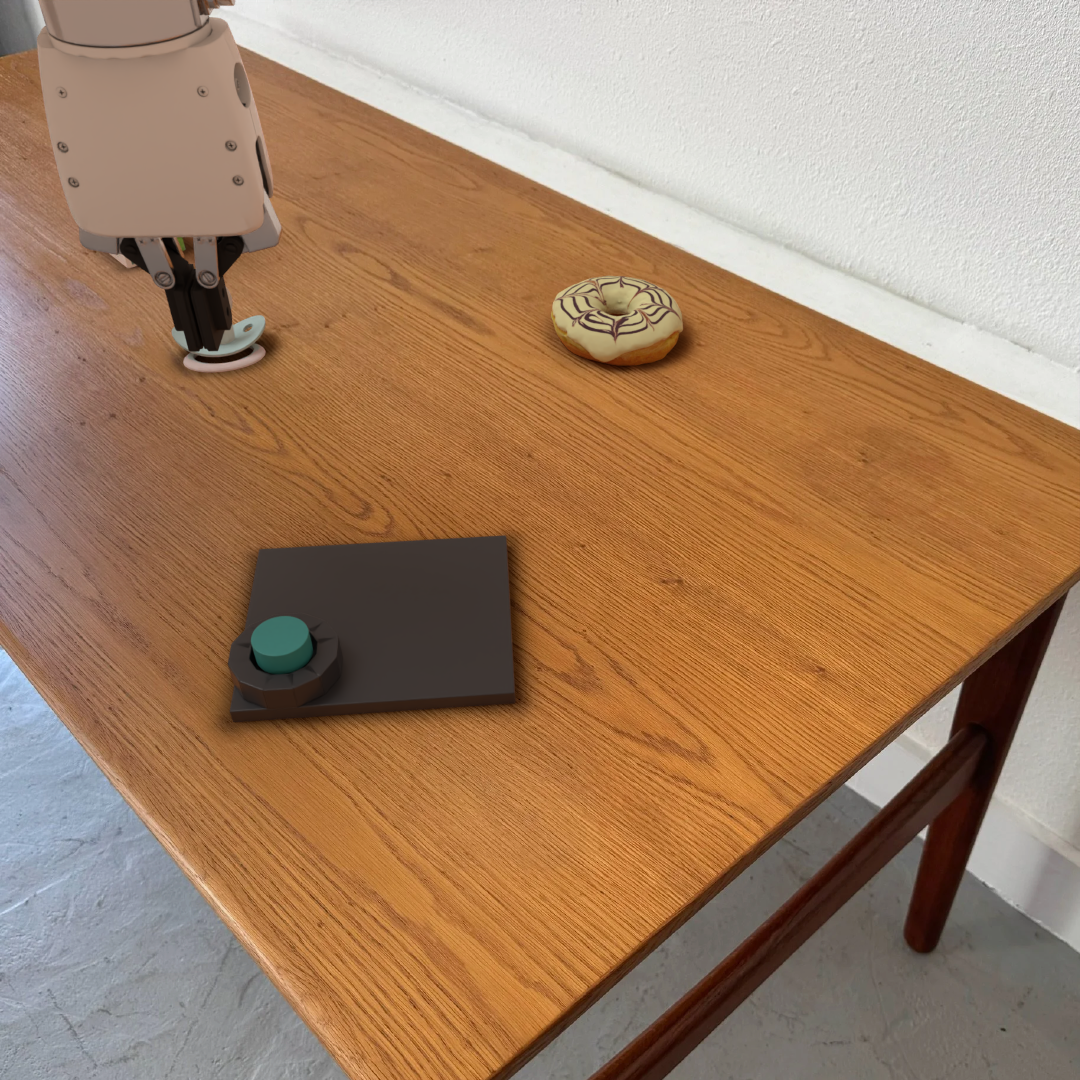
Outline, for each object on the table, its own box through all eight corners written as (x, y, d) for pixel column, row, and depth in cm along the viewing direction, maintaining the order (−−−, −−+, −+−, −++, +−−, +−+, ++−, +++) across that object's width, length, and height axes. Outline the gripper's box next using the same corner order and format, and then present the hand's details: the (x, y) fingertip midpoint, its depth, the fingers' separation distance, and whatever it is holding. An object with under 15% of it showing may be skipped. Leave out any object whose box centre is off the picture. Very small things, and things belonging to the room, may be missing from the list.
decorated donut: (605, 390, 91) (605, 348, 88) (527, 333, 97) (526, 292, 94) (705, 347, 95) (708, 306, 93) (625, 295, 102) (626, 255, 99)
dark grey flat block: (233, 728, 65) (221, 693, 63) (262, 564, 76) (252, 529, 73) (516, 709, 67) (513, 674, 65) (507, 550, 77) (505, 515, 75)
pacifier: (274, 372, 93) (268, 332, 97) (258, 302, 88) (253, 264, 92) (179, 384, 91) (178, 343, 95) (159, 315, 87) (158, 275, 91)
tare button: (253, 676, 65) (247, 657, 64) (259, 636, 67) (254, 617, 66) (310, 673, 65) (305, 653, 64) (315, 633, 67) (311, 613, 66)
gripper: (292, -22, 58) (342, 305, 71) (-12, -22, 57) (94, 309, 70) (271, 27, 53) (330, 371, 66) (-65, 28, 52) (60, 377, 65)
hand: (208, 338), depth 68 cm, fingers closed
